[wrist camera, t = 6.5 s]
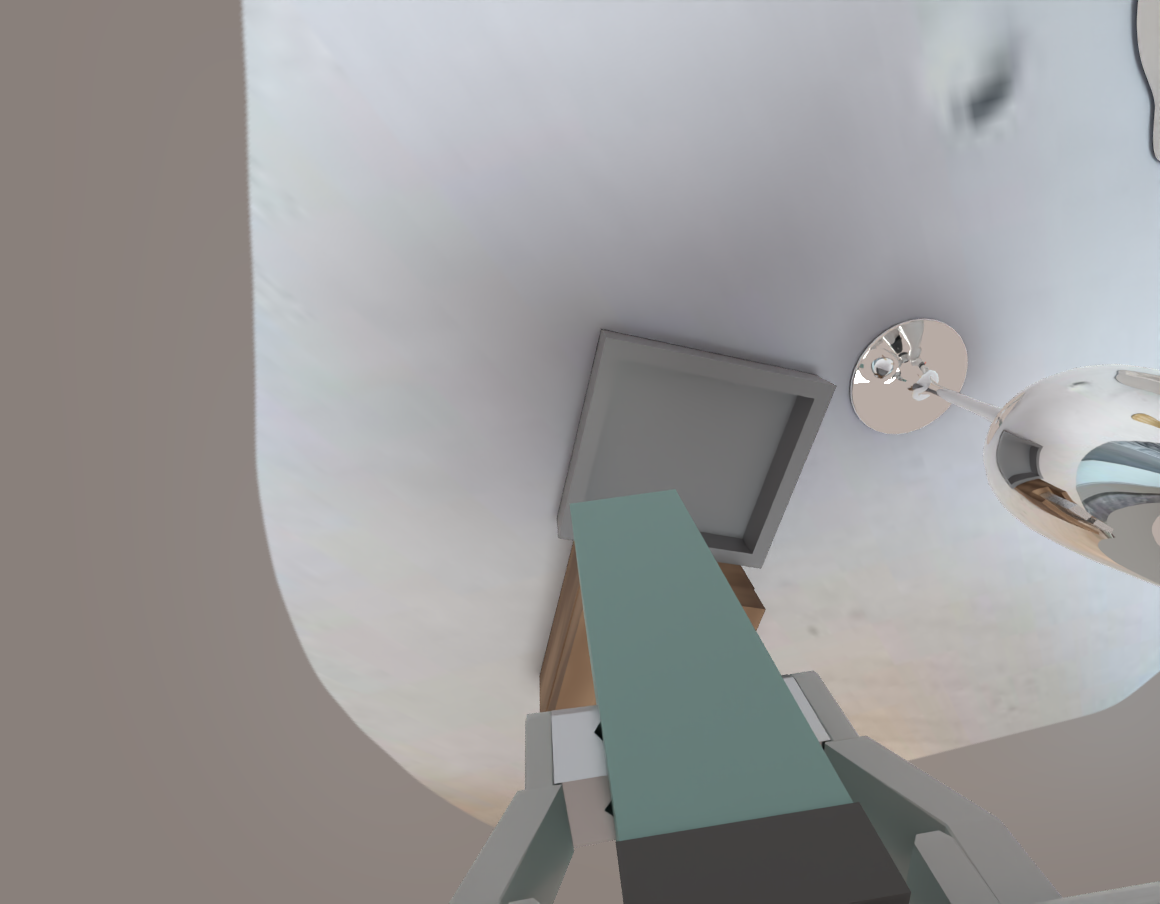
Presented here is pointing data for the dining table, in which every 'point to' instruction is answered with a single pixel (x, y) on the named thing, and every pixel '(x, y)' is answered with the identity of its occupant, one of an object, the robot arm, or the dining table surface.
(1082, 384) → the wineglass
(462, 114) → the dining table surface
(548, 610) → the dining table surface
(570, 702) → the groove board
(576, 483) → the tray
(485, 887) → the robot arm
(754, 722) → the green grey block
